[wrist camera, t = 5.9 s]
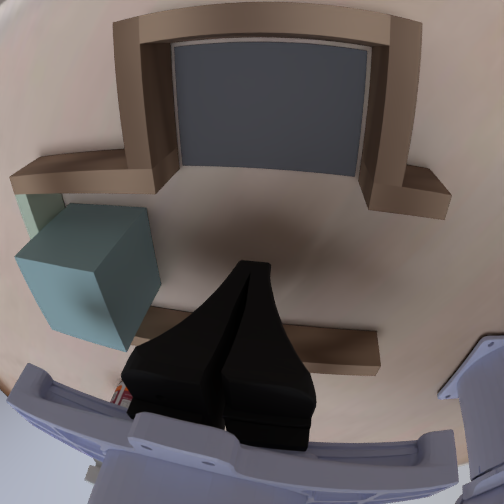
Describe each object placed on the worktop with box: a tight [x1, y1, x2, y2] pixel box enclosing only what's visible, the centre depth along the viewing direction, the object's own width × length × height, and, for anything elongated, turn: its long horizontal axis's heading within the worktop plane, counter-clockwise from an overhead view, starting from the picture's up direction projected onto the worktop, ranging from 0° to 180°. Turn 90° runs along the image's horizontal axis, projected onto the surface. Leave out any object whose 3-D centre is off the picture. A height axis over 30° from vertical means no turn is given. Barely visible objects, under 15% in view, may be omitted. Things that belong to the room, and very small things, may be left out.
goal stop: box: [15, 193, 65, 239], centre depth 16 cm, size 1×9×2 cm, turn 1°
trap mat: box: [174, 42, 367, 177], centre depth 11 cm, size 7×5×1 cm
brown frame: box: [10, 2, 452, 376], centre depth 13 cm, size 19×16×2 cm
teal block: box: [15, 203, 161, 352], centre depth 14 cm, size 5×5×5 cm
